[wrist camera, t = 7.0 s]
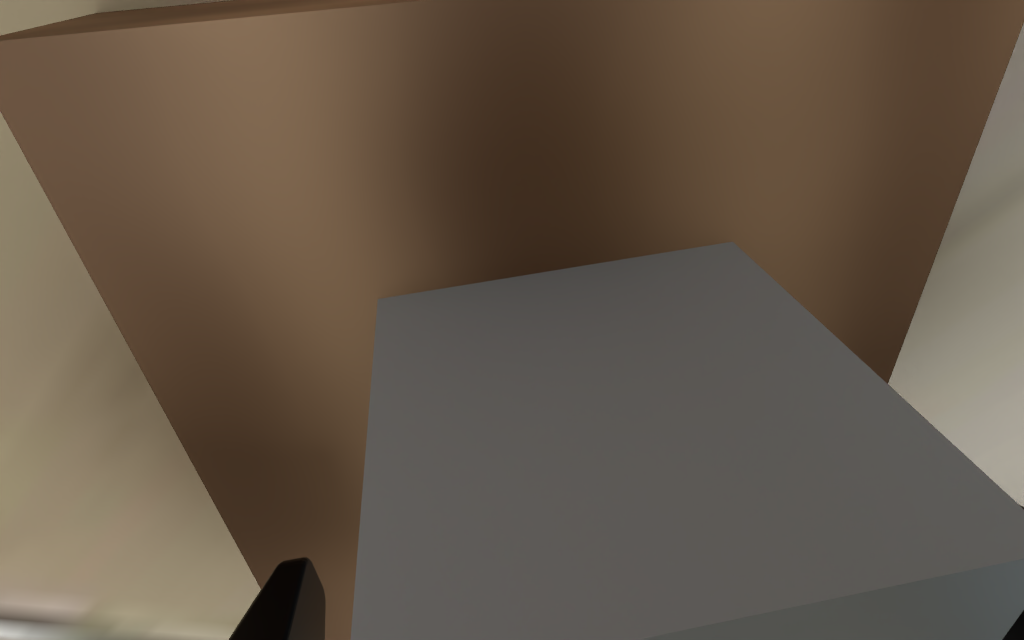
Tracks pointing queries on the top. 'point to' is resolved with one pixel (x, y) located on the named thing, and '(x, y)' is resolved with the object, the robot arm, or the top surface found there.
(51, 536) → the top surface
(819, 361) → the slate cube
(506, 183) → the walnut slab
